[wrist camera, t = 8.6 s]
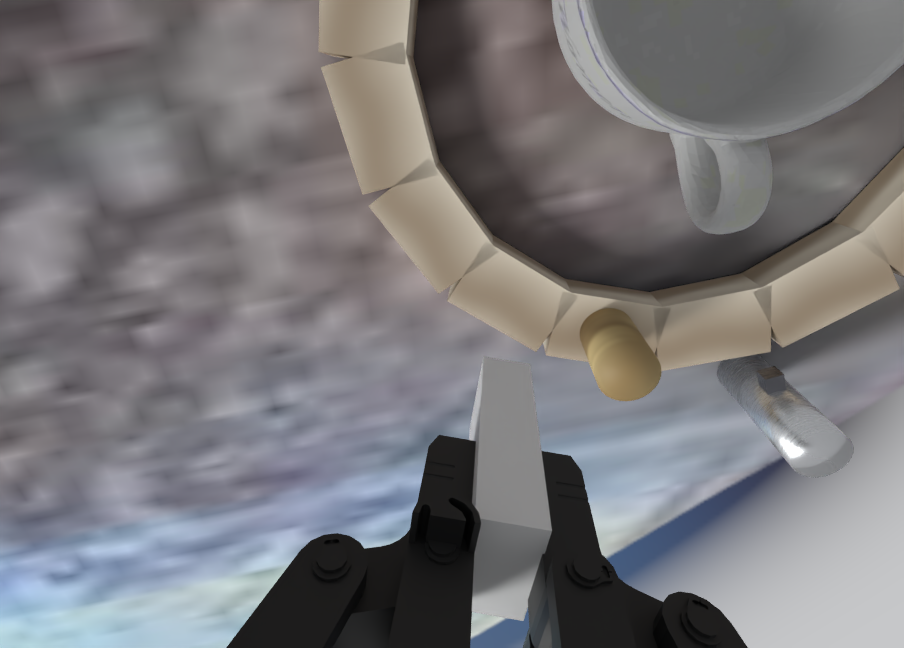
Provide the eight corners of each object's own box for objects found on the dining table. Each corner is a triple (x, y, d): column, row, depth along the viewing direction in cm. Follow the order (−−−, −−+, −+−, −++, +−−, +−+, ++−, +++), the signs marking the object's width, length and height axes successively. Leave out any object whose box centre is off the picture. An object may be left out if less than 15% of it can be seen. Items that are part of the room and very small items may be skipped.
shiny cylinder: (708, 384, 26) (776, 471, 20) (729, 335, 25) (810, 411, 19) (752, 391, 26) (836, 481, 20) (777, 342, 25) (874, 421, 19)
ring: (326, 304, 26) (283, 356, 20) (353, -622, 14) (260, -1114, 8) (854, 387, 26) (952, 462, 20) (1365, -476, 13) (1971, -878, 8)
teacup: (560, -195, 17) (614, -417, 10) (870, -189, 17) (1164, -417, 9) (520, 196, 23) (535, 237, 16) (748, 209, 23) (872, 258, 15)
